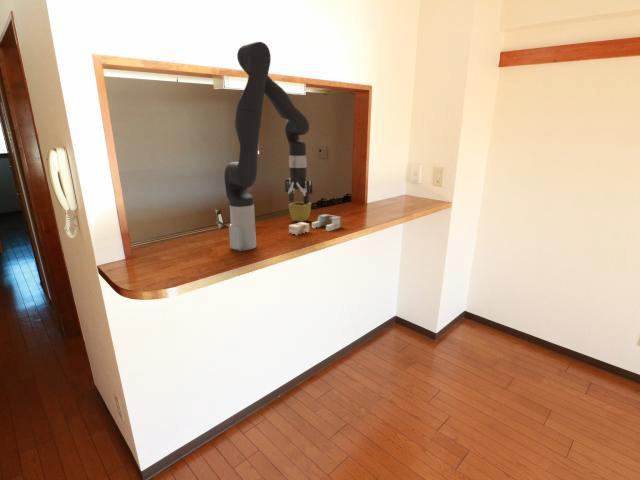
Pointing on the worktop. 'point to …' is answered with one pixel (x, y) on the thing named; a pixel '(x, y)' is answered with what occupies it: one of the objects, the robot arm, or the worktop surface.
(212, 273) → the worktop surface
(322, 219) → the channel
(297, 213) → the flower pot
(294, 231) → the cream pronged block
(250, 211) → the robot arm
